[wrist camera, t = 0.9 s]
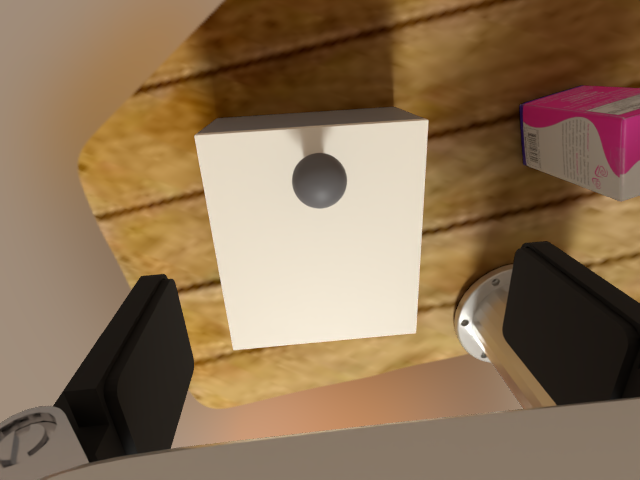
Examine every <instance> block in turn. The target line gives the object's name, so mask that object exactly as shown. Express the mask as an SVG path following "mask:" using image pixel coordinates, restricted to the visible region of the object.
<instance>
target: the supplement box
mask: <svg viewBox="0 0 640 480" xmlns="http://www.w3.org/2000/svg"><path fill="white" fill-rule="evenodd" d="M520 124H521V140H522V154H523V165H526V166H528V167H531V168H534V169H536V170H539V171H542V172H544V173H547V174H549V175H552V176H555V177H557V178H560V179H563V180H565V181H568V182H571V183H573V184H576V185H579V186H581V187H584V188H586V189H589V190H592V191H594V192H597V193H600V194H602V195H605V196H607V197H610V198H613V199H615V200H618V201H624V200H627V199H630V198H633V197H636V196H640V88H624V87H603V86H583V85H582V86H578V87H575V88H571V89H568V90H565V91H561V92H558V93H555V94H551V95H548V96H545V97H541V98H538V99H535V100H532V101H529V102H525V103H523V104H520Z"/></svg>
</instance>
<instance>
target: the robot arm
mask: <svg viewBox="0 0 640 480" xmlns="http://www.w3.org/2000/svg"><path fill="white" fill-rule="evenodd" d="M454 325H455V332H456V335H457V338H458V339H459V341H460V343H461V345H462V346H463V347H464V349H465V350H466V351H467V352H468V353H469V354H471V355H472V356H473V357H475V358H477V359H479V360H482V361H486V362H490V363H492V364H493V366H494V367H495V368H496V370H497V372H498V373H499V375H500V376H501V377H502V379H503V380H504V382H505V383H506V385H507V386H508V388H509V389H510V391H511V392H512V393H513V395H514V396H515V398H516V399H517V401H518V402H519V404H520V405H521V407H522V408H523V409H518V410H509V411H500V412H490V413H481V414H471V415H462V416H453V417H444V418H434V419H425V420H416V421H407V422H398V423H389V424H380V425H370V426H361V427H352V428H344V429H335V430H326V431H318V432H309V433H300V434H292V435H284V436H276V437H275V436H274V437H266V438H257V439H249V440H240V441H231V442H223V443H214V444H205V445H196V446H188V447H180V448H173V449H171V445H172V442H173V439H174V435H175V432H176V428H177V425H178V422H179V418H180V415H181V412H182V408H183V405H184V402H185V398H186V395H187V391H188V388H189V385H190V381H191V378H192V374H193V370H194V359H193V354H192V350H191V346H190V342H189V338H188V334H187V329H186V325H185V321H184V317H183V313H182V309H181V305H180V300H179V296H178V292H177V288H176V284H175V281H174V280H173V279H168V278H167V276H166V275H165V274H160V275H149V276H141V277H140V278H139V280H138V281H137V283H136V284H135V286H134V287H133V289H132V290H131V292H130V293H129V295H128V296H127V298H126V299H125V301H124V302H123V304H122V305H121V307H120V308H119V310H118V311H117V313H116V314H115V316H114V317H113V319H112V320H111V321H110V323H109V325H108V326H107V327H106V329H105V330H104V332H103V333H102V334H101V336H100V337H99V339H98V340H97V342H96V343H95V345H94V346H93V348H92V349H91V351H90V352H89V354H88V355H87V357H86V358H85V359H84V361H83V362H82V364H81V366H80V367H79V368H78V370H77V372H76V373H75V375H74V376H73V377H72V379H71V380H70V382H69V383H68V385H67V386H66V388H65V389H64V391H63V392H62V394H61V395H60V397H59V398H58V400H57V401H56V402H55V404H54V405H53V406H39V407H35V408H31V409H27V410H24V411H22V412H20V413H17V414H15V415H13V416H11V417H9V418H7V419H6V420H4V421H2V422H1V423H0V480H640V303H638V302H637V301H635V300H634V299H632V298H631V297H629V296H628V295H627V294H625V293H624V292H622V291H621V290H619V289H618V288H616V287H615V286H613V285H612V284H610V283H609V282H607V281H606V280H604V279H603V278H601V277H600V276H598V275H597V274H595V273H594V272H592V271H591V270H590V269H588V268H587V267H585V266H584V265H582V264H581V263H579V262H578V261H576V260H575V259H573V258H572V257H570V256H569V255H567V254H566V253H564V252H563V251H561V250H560V249H558V248H557V247H556V246H554V245H553V244H551V243H550V242H547V241H543V242H532V243H525V244H523V245H522V247H521V249H518V250H517V251H516V253H515V257H514V263H513V264H510V265H506V266H502V267H500V268H498V269H495V270H493V271H491V272H489V273H488V274H486V275H484V276H483V277H481V278H480V279H479V280H477V281H476V282H475V283H474V284H473V285H472V286H471V287H470V288H469V289H468V290H467V292H466V293H465V294H464V296H463V297H462V299H461V301H460V302H459V305H458V307H457V310H456V313H455V319H454Z"/></svg>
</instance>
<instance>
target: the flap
mask: <svg viewBox="0 0 640 480" xmlns="http://www.w3.org/2000/svg"><path fill="white" fill-rule="evenodd" d="M194 137H195V142H196V148H197V153H198V159H199V164H200V170H201V175H202V181H203V186H204V192H205V197H206V203H207V208H208V214H209V219H210V225H211V230H212V236H213V241H214V247H215V252H216V258H217V263H218V269H219V274H220V279H221V285H222V290H223V296H224V301H225V307H226V312H227V318H228V323H229V329H230V334H231V340H232V345H233V350H239V349H250V348H261V347H271V346H282V345H293V344H303V343H314V342H325V341H336V340H346V339H357V338H368V337H378V336H389V335H400V334H410V333H416V322H417V305H418V288H419V271H420V255H421V238H422V221H423V204H424V187H425V171H426V154H427V137H428V120H427V119H410V120H394V121H379V122H364V123H349V124H334V125H319V126H304V127H289V128H274V129H258V130H243V131H228V132H213V133H198V134H196V135H194Z"/></svg>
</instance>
